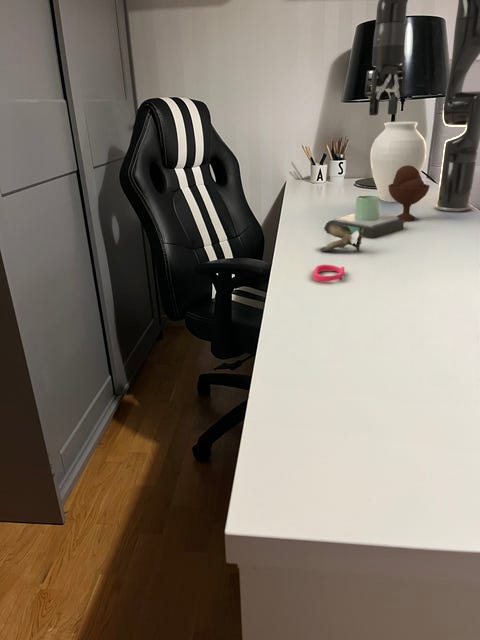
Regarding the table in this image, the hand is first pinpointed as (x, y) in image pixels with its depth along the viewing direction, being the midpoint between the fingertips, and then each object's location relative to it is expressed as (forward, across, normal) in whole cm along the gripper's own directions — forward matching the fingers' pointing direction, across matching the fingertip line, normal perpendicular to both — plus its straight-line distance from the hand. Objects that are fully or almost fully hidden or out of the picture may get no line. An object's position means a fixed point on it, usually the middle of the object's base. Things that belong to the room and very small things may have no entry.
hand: (383, 114), depth 131 cm
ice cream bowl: (+28, +8, -5) cm, 30 cm away
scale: (+28, -10, -4) cm, 30 cm away
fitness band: (+28, -48, -22) cm, 60 cm away
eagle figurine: (+28, -31, -12) cm, 44 cm away
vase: (+28, +32, +14) cm, 45 cm away
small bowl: (+25, -10, -4) cm, 27 cm away
